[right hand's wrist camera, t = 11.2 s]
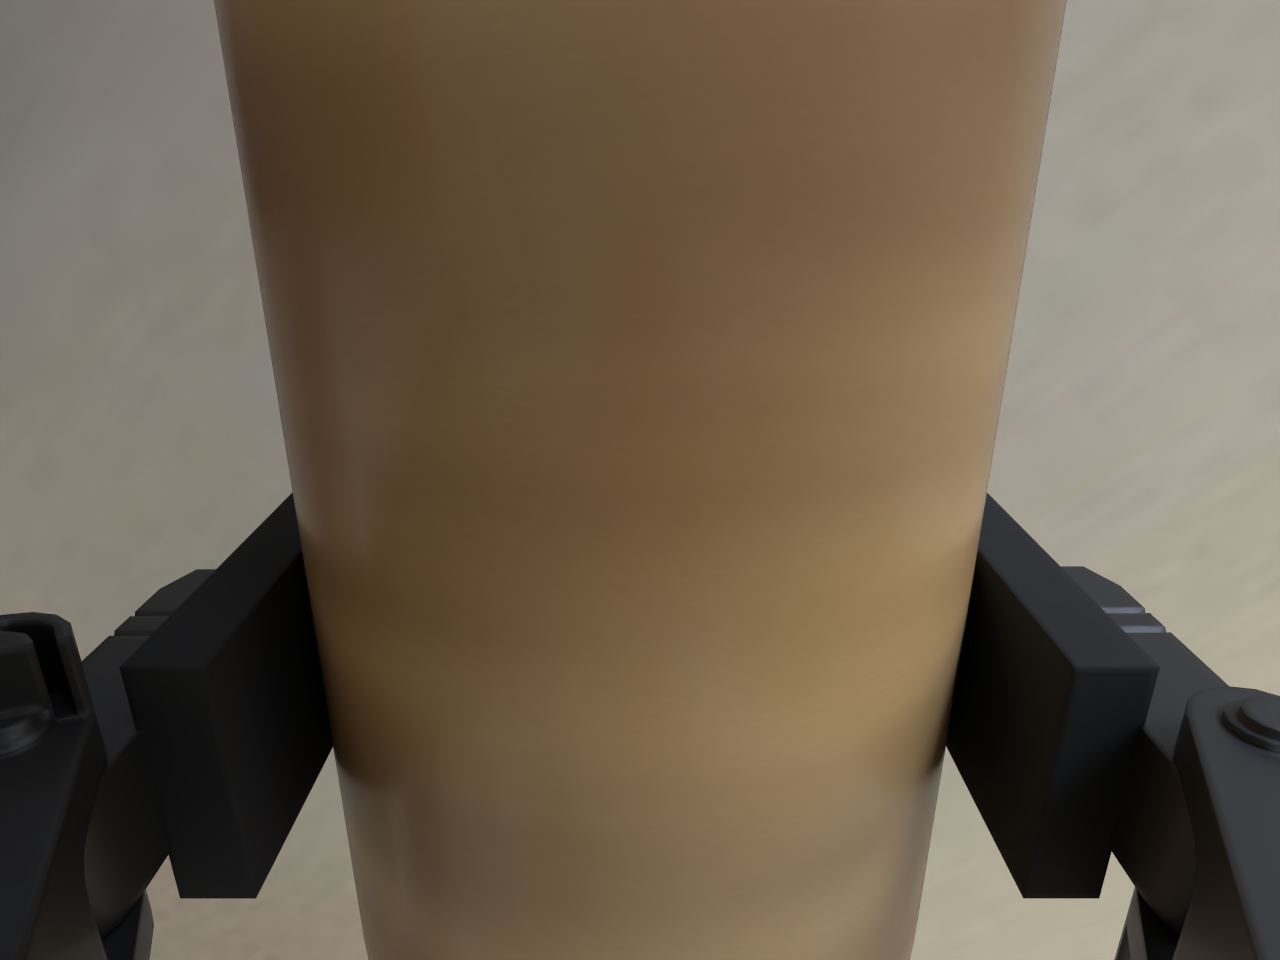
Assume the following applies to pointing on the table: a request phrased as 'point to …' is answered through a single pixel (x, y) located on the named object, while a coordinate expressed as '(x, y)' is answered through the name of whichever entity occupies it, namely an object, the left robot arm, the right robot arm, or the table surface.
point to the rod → (639, 444)
